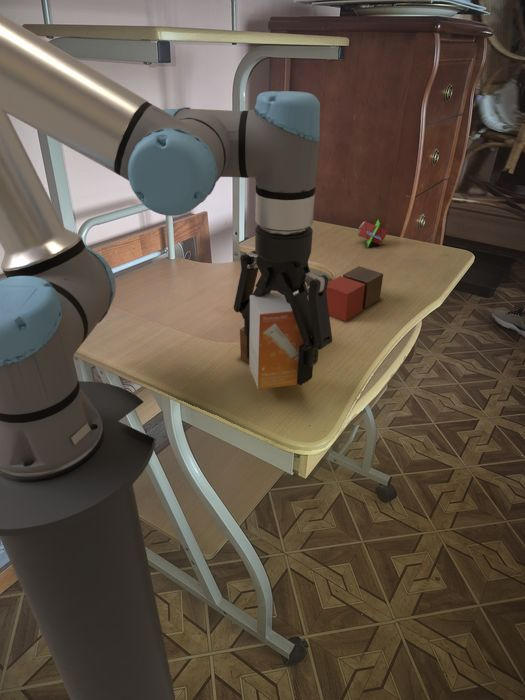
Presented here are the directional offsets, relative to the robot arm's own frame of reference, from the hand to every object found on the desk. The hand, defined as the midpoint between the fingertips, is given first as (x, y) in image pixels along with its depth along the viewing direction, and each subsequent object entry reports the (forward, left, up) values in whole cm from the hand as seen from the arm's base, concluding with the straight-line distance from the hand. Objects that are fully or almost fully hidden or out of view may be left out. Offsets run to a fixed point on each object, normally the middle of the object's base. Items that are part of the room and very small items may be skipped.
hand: (278, 367), depth 77 cm
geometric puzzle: (-24, +66, -4) cm, 70 cm away
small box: (0, 0, -2) cm, 2 cm away
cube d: (-8, +36, -4) cm, 37 cm away
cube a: (-8, +5, -4) cm, 10 cm away
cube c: (-8, +29, -4) cm, 30 cm away
